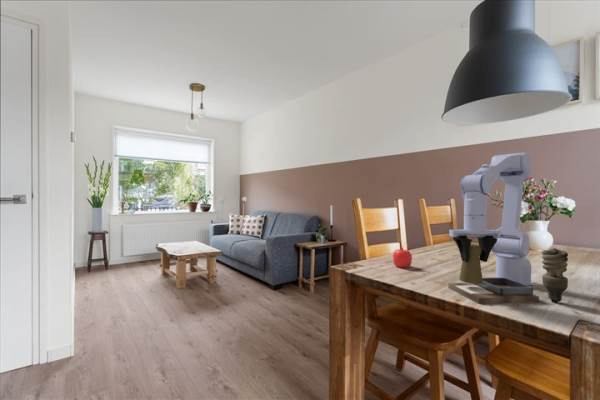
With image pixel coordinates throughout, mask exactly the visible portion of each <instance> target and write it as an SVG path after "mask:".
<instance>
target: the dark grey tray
mask: <svg viewBox="0 0 600 400" xmlns="http://www.w3.org/2000/svg"><path fill="white" fill-rule="evenodd" d="M492 277H493V278H490V277H482V280H483V283H482V284H474V285H477V286H479V287H481V288H483V289H486V290H488V291H490V292H493V293H495V294H497V295H502V296H513V295H532V294H533V295H534V287H533V286H531V285H524V284H522V283H519V282H516V281H513V280H510V279H507V278H502V277H496V276H492ZM496 284H504V285H506V286H509V288H500V287H498V286H495V285H496Z"/></svg>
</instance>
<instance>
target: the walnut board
mask: <svg viewBox="0 0 600 400" xmlns="http://www.w3.org/2000/svg"><path fill="white" fill-rule="evenodd" d="M447 285H448V286H447V287H448V289H450V290H451V291H454V292H456V293H458V294H460V295H461V296H463V297H465V298H467V299H469V300H471V301H473V302H475V303H477V304H483V305H484V304H509V303H513V304H514V303H515V304H516V303H539V302H540V296H539V295H536V294H534V293H533V294H532V295H513V296H502V295H497V294H495V293H494V294H470V293H468V292H466V291H464V290H462V289H460V288H458V287H456V286H468V285H474V284H473V283H467V282H453V283H452V282H451V283H450V282H449V283H448V284H447ZM476 286H477V285H476ZM495 286H498V287H500V288H509V286H506V285H504V284H496V285H495Z"/></svg>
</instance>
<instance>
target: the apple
mask: <svg viewBox="0 0 600 400" xmlns="http://www.w3.org/2000/svg"><path fill="white" fill-rule="evenodd" d="M392 260H393V265H395V266H396V267H397V268H399V269H407V267H408V268H409V267H411V266H412V265H411V264H412V261H413V256H412V254H411V252H410V251H409V250H407V249H404V247H401V249H399V248H398V249H395V250H394V251H393V253H392Z"/></svg>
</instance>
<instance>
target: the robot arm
mask: <svg viewBox="0 0 600 400" xmlns="http://www.w3.org/2000/svg"><path fill="white" fill-rule="evenodd" d="M531 172H532V158H531V155H530V154H529V153H528V152H527V151H524V152H515V153H508V154H495V155H494V156H492V157H491V162H490V164H487V163H485V164H482V165H481V167H480V168H478V169H477V170H475V172H473V173H472V174H471V175H470V174H469V175H468V174H467V175H465V176H464V177H463V178H461V180H460V185H459V186H460V191H461V194H462V195H461V196H462V197H461V198H462V200H463V201H464V202H463V228H461V229H449V231H448V236H449V237H452V238H453V240H454V242H455V244H456V246H457V248H458V251H459V254H460V258H461V259H460V260H461V262H462V261H465V262H468V261H469V249H470V245H471V244H472V241H473V240H472V239H471V237H472V238H474V237H476V238H477V241H478V246H480V247H481V249H482V253H481V255H480V256H479V257H480V262H484V263H488V259H489V256H490V254H491V252H492V253H493V255H494V256H495V277H502V278H507V279H510V280H513V281H516V282H519V283H522V284H524V285H527V286H533V285H534V283H533V282H532V264H531V262H530V260H529V259H528V258H526V257H527V256H528V255H529V253H530V246H531V245H530V237H529V235H528V234H527V233H526V232H525V231H524V230H522V229H521V228H520V223H521V222H520V221H521V213H522V200H523V191H524V184H525V181H526V180H528V179H530V176H531ZM498 180H501V181H503V182H505V188H504V189H505V190H504V196H503V197H504V198H503V209H502V219H501V227H500V226H499V228H497V229H488V228H487V223H488V219H487V218H488V194H490V193H491V191H492V187H493V185H494V183H495V182H496V181H498ZM493 277H494V276H492V277H491V276H490V277H489V278H493Z"/></svg>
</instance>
